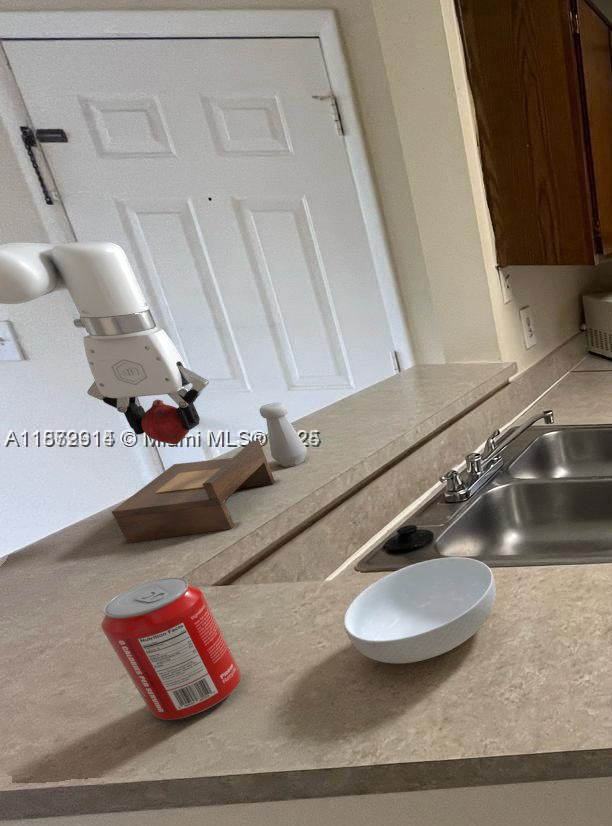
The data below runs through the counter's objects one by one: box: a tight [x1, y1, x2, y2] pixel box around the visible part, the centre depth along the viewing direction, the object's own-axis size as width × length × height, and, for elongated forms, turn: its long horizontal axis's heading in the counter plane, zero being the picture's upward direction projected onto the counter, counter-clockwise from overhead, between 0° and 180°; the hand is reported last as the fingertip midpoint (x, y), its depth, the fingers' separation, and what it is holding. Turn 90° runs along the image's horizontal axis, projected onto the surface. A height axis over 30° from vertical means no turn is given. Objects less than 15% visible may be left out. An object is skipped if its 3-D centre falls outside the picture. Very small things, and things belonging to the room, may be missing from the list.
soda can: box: [101, 577, 242, 721], centre depth 69 cm, size 8×8×15 cm
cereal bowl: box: [343, 556, 497, 664], centre depth 80 cm, size 17×17×7 cm
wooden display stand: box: [111, 440, 276, 544], centre depth 109 cm, size 14×18×9 cm
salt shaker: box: [259, 402, 308, 468], centre depth 125 cm, size 6×6×13 cm
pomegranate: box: [141, 399, 190, 445], centre depth 103 cm, size 6×6×8 cm
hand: (168, 428), depth 103 cm, fingers closed on pomegranate, 5 cm apart
